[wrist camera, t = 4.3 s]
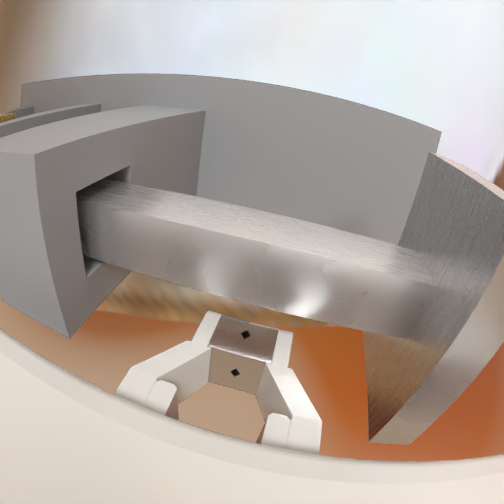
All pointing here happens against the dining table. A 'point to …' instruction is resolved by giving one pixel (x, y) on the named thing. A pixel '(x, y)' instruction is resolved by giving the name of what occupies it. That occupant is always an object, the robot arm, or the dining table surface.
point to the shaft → (337, 277)
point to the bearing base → (187, 169)
